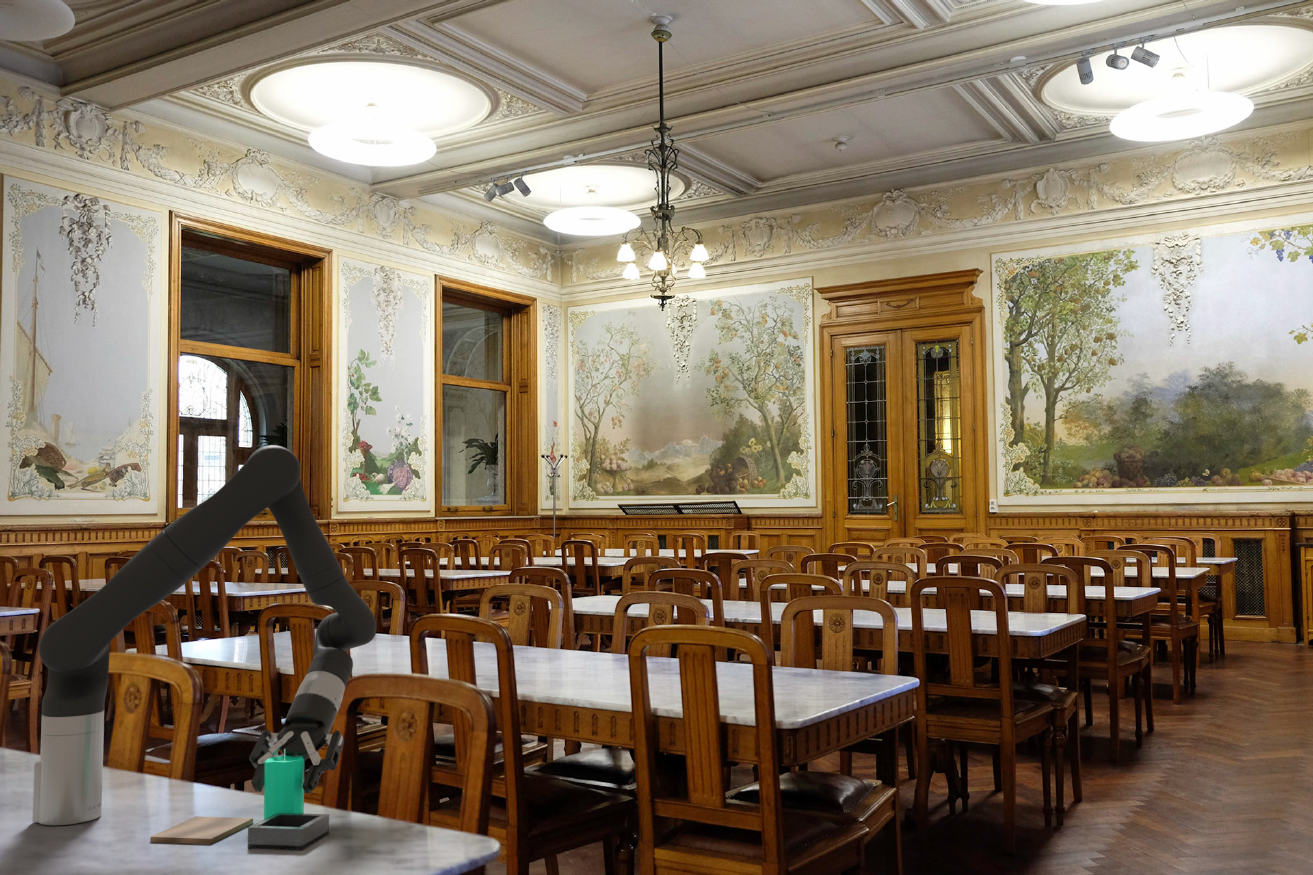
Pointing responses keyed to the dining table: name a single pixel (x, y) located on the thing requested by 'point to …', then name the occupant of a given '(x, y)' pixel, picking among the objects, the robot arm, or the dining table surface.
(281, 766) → the candle
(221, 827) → the walnut board
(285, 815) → the box
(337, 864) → the dining table surface
